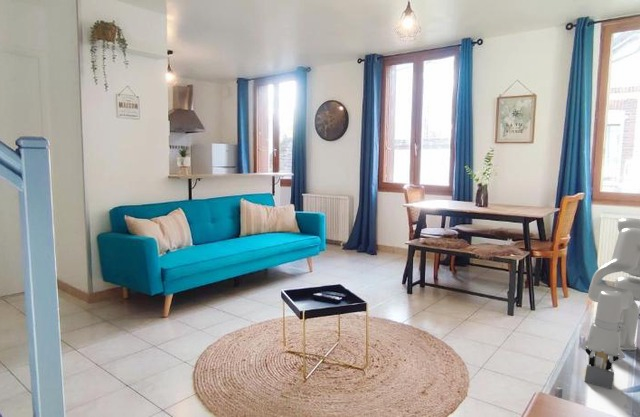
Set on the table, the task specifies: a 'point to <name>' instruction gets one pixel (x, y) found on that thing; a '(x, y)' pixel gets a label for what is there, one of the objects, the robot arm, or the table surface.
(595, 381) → the guide channel
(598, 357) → the sprinkles bottle
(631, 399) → the table surface
